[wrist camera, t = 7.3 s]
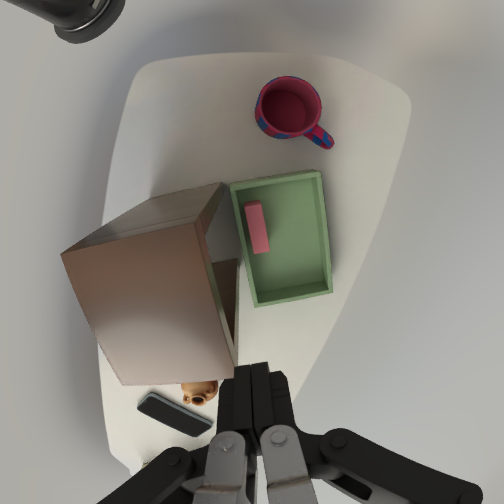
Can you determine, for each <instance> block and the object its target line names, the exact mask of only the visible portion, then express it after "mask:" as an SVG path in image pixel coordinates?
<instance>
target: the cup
mask: <svg viewBox="0 0 504 504" xmlns="http://www.w3.org/2000/svg"><path fill="white" fill-rule="evenodd" d="M321 109H322V106H321V100H320V97H319V95H318V93H317V92H316V90H315V89H314V88H313V87H312V86H311V85H310V84H309V83H308V82H306V81H305V80H302V79H300V78H297V77H292V76H283V77H278V78H275V79H273V80H271V81H270V82H268V83H267V84H266V85H265V86H264V87H263V89H262V90H261V92H260V94H259V97H258V100H257V104H256V107H255V119H256V122H257V124H258V126H259V127H260V129H261V130H262V131H263V132H264V133H266V134H267V135H269V136H271V137H273V138H277V139H288V138H292V137H295V136H299V135H304V136H306V137H307V138H308V139H310V140H311V141H313V142H314V143H315V144H317V145H318V146H320V147H322V148H324V149H330V148H332V147H333V145H334V140H333V138H332V137H331V136H330V135H329V134H328V133H327V132H326V131H325V130H324V129H322V128H321V127H320V126H318V125H317V123H318V121H319V119H320V116H321Z"/></svg>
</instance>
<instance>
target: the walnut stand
mask: <svg viewBox="0 0 504 504" xmlns="http://www.w3.org/2000/svg"><path fill="white" fill-rule="evenodd" d="M222 195H223V189H222V184H221V182H220V183H215V184H210V185H206V186H201V187H197V188H192V189H188V190H183V191H179V192H175V193H171V194H167V195H163V196H159V197H155V198H151V199H148V200H146V201H144V202H143V203H141V204H139V205H137V206H136V207H134V208H132V209H130V210H129V211H127V212H125V213H124V214H122V215H120V216H119V217H117V218H115V219H114V220H112V221H110V222H109V223H107V224H106V225H104V226H102V227H101V228H99V229H98V230H96V231H94V232H93V233H92V234H90V235H88V236H87V237H85V238H84V239H82V240H81V241H79V242H78V243H76V244H75V245H73V246H72V247H70V248H68V249H67V250H66V251H64V252H63V253H61V254H60V255H61V258H62V261H63V263H64V266H65V269H66V272H67V274H68V277H69V279H70V282H71V284H72V287H73V289H74V292H75V294H76V296H77V299H78V301H79V303H80V306H81V308H82V310H83V312H84V314H85V316H86V319H87V321H88V323H89V325H90V327H91V329H92V331H93V333H94V335H95V337H96V339H97V341H98V343H99V345H100V347H101V349H102V351H103V353H104V354H105V356H106V358H107V360H108V362H109V363H110V365H111V367H112V369H113V370H114V372H115V374H116V375H117V377H118V379H119V380H120V382H121V384H122V385H162V384H179V383H193V382H204V381H214V380H223V379H229V378H234V367H235V366H238V325H239V269H240V268H239V263H238V259H232V260H227V261H221V262H216V263H211V261H210V257H209V253H208V249H207V244H206V240H205V234H206V232H207V229H208V227H209V225H210V222H211V220H212V218H213V215H214V213H215V211H216V209H217V206H218V204H219V202H220V200H221V197H222Z"/></svg>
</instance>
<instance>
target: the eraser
mask: <svg viewBox="0 0 504 504" xmlns="http://www.w3.org/2000/svg"><path fill="white" fill-rule="evenodd" d="M244 208H245V213H246V218H247V223H248V227H249V232H250V237H251V242H252V247H253V251H254V254H258V253H263V252H268V251H270V248H269V242H268V237H267V232H266V226H265V221H264V216H263V211H262V206H261V202H260V200H255V201H249V202H245V203H244Z"/></svg>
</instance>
